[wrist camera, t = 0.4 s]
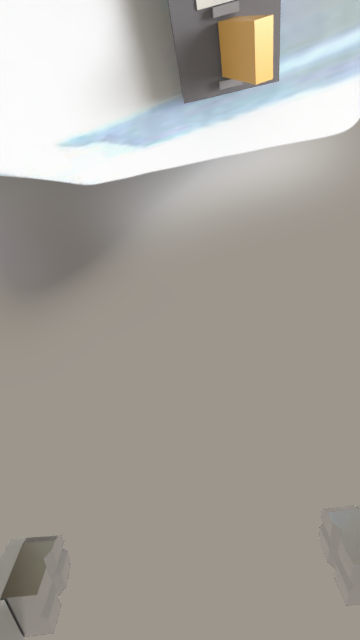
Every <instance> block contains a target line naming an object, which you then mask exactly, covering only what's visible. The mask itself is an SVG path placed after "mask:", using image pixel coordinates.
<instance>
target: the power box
mask: <svg viewBox="0 0 360 640" xmlns="http://www.w3.org/2000/svg"><path fill="white" fill-rule="evenodd" d="M168 4H169V10H170V17H171V23H172V29H173V35H174V41H175V48H176V54H177V60H178V66H179V73H180V79H181V85H182V91H183V97H184V103H189V102H193V101H197V100H201V99H206V98H210V97H214V96H218V95H222V94H227V93H231V92H235V91H239V90H244V89H248V88H252V87H256V86H260V85H265V84H269V83H273V82H277V81H279V55H280V4H281V0H168ZM254 15H273V79H271V80H268V81H266V82H263V83H260V84H257V85H255V84H251V83H247V82H243V81H238V80H234V79H230V78H226V77H222V65H221V53H220V41H219V29H218V21H221V20H225V19H228V18H231V17H234V16H254Z"/></svg>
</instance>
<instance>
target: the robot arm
mask: <svg viewBox="0 0 360 640" xmlns="http://www.w3.org/2000/svg"><path fill="white" fill-rule="evenodd" d="M321 519H322V521H323V524H322V525H321V526H320V531H319V536H320V542H321V546H322V549H323V552H324V555H325V557H326V560H327V562H328V563H329V564H330V565H331V566H332V567H334V568H335V569H336V573H335V581H336V583H337V585H338V588H339V590H340V592H341V595H342V597H343V599H344V602H345V604H346V606H350V605H360V505H359V506H354V505H353V506H345V507H336V508H328V509H323V510H322V511H321ZM63 544H64V540H63V538H62V535H56V536H55V535H54V536H43V537H30V538H29V537H27V538H17V539H11V540H10V542H9V543H8V544H7V545H6V547H5V549H4V551H3V553H2V556H1V558H0V640H24V637H30V636H38V635H46V634H53V633H54V631H55V628H56V624H57V620H58V616H59V612H60V609H61V602H60V599H59V595H60V594H61V593H62V592H63V591H64V589H65V588H66V586H67V581H68V577H69V569H70V559H69V554H68V552H67V551H66V550H65V549H63Z"/></svg>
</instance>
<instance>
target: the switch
mask: <svg viewBox="0 0 360 640" xmlns="http://www.w3.org/2000/svg"><path fill="white" fill-rule="evenodd" d="M218 29H219V41H220V53H221V65H222V77H226V78H230V79H234V80H238V81H243V82H247V83H251V84H255V85H257V84H260V83H263V82H266V81H268V80H271V79H273V15H254V16H234V17H231V18H228V19H225V20H221V21H218Z"/></svg>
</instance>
